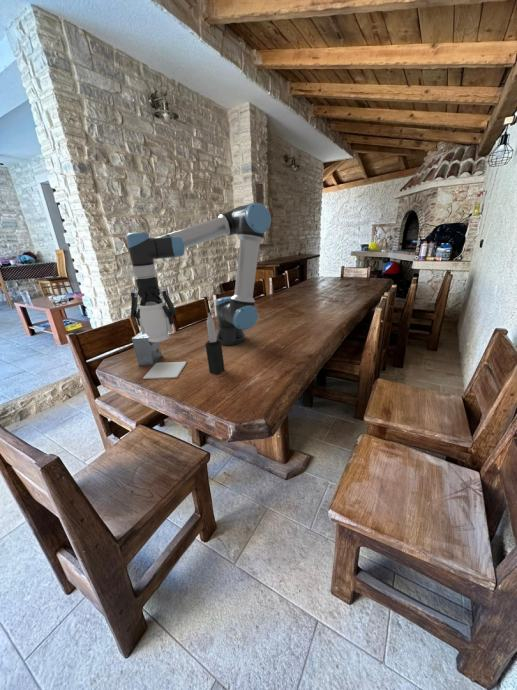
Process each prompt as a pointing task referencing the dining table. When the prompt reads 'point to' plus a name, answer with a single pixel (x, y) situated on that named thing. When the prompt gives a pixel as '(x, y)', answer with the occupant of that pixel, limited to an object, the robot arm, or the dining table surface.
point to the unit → (146, 350)
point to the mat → (165, 370)
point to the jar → (154, 321)
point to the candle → (214, 349)
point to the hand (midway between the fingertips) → (157, 332)
